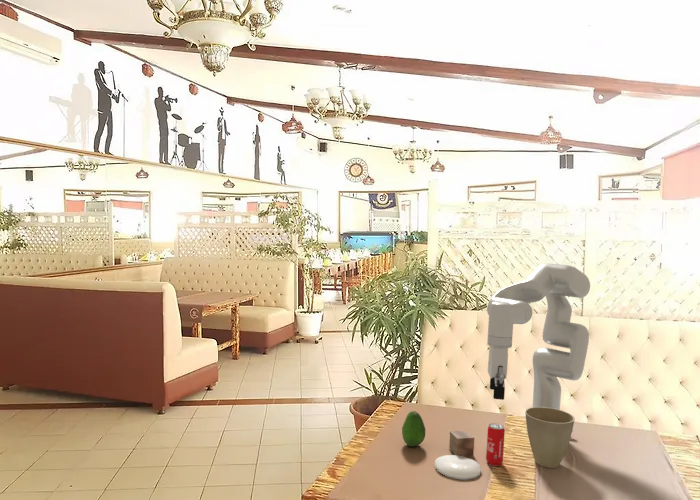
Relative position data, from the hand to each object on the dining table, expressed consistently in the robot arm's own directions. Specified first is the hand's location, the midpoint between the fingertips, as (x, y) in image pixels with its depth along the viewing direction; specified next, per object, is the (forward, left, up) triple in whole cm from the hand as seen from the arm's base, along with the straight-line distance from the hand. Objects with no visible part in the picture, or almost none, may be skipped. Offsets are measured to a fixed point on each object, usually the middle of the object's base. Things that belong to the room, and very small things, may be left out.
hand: (496, 394), depth 169 cm
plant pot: (-17, -4, -22) cm, 29 cm away
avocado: (+26, -7, -22) cm, 35 cm away
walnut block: (+10, -6, -22) cm, 25 cm away
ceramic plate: (+12, +7, -22) cm, 26 cm away
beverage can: (0, 0, -22) cm, 23 cm away
